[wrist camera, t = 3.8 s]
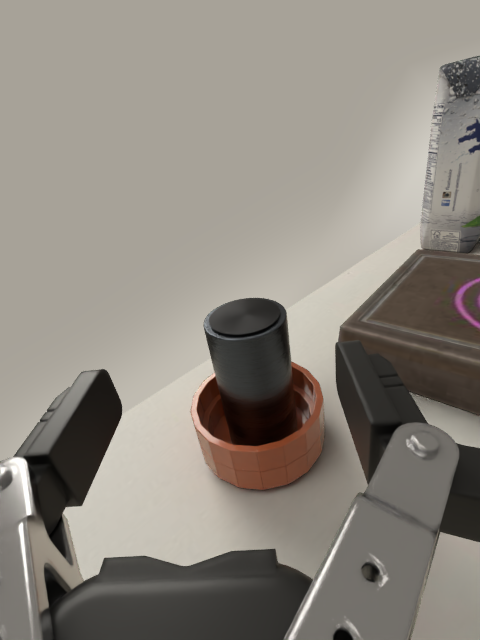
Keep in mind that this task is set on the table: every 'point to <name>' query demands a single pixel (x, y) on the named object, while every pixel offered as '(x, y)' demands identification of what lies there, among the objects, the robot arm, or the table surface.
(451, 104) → the juice carton
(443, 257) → the book
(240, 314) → the black metal canister
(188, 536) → the table surface
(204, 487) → the table surface
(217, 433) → the terracotta bowl
